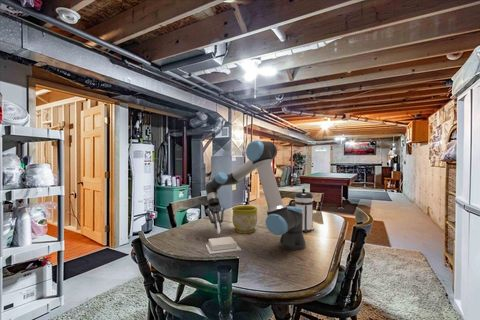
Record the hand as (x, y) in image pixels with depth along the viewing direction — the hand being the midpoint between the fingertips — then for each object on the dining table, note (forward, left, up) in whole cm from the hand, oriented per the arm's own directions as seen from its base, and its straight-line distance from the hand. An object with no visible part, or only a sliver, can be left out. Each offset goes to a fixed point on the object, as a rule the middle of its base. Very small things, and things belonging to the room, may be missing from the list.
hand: (219, 232), depth 150 cm
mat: (-6, +5, -7) cm, 10 cm away
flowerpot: (0, -30, -7) cm, 31 cm away
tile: (0, 0, -5) cm, 5 cm away
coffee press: (-34, -53, -7) cm, 64 cm away
